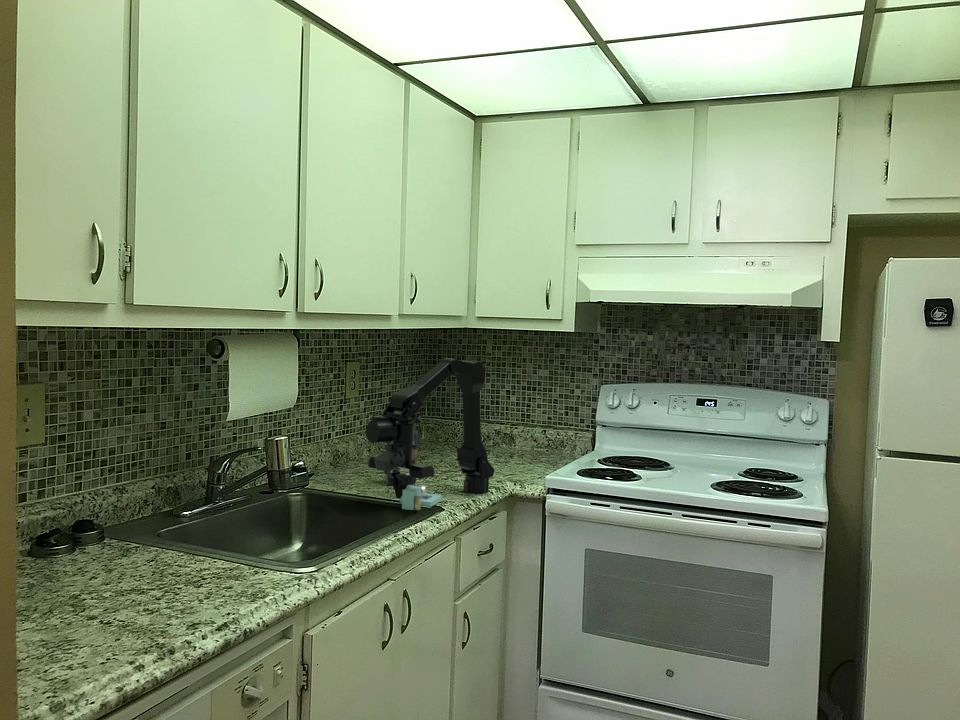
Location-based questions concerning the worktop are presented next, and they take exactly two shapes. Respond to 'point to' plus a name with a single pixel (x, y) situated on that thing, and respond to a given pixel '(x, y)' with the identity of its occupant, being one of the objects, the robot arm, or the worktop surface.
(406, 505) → the flange
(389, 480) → the canister
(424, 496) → the post
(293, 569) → the worktop surface
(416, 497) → the dowel
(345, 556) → the worktop surface
